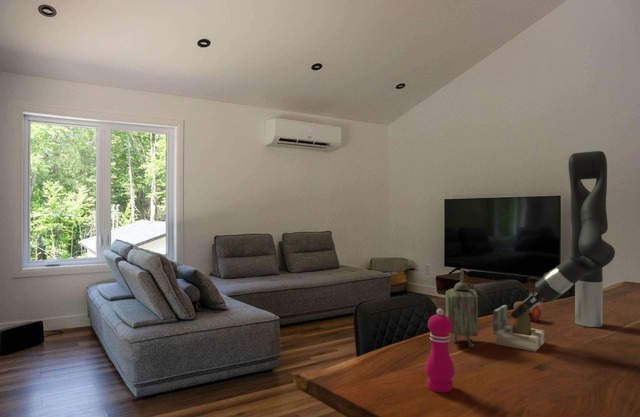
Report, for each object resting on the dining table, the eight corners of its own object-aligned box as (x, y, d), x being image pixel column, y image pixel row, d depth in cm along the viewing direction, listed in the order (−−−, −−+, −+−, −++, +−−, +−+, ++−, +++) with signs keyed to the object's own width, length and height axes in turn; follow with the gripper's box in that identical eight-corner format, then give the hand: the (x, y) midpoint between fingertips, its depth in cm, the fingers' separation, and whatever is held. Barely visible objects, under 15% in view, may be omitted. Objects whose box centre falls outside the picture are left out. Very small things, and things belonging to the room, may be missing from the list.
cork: (534, 337, 147) (534, 304, 147) (514, 336, 148) (514, 303, 148) (529, 332, 153) (529, 300, 153) (510, 331, 154) (510, 299, 154)
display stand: (503, 335, 160) (503, 304, 160) (544, 342, 152) (544, 310, 152) (493, 343, 150) (493, 310, 150) (535, 351, 142) (535, 316, 142)
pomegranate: (533, 329, 177) (551, 313, 178) (521, 314, 177) (539, 298, 178) (522, 326, 184) (539, 310, 185) (511, 312, 184) (528, 296, 186)
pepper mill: (421, 382, 117) (421, 305, 117) (448, 381, 118) (448, 305, 117) (430, 393, 110) (430, 312, 110) (459, 392, 110) (459, 311, 110)
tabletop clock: (477, 350, 143) (478, 272, 143) (448, 348, 145) (448, 271, 145) (471, 337, 157) (472, 266, 157) (445, 336, 159) (445, 265, 159)
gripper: (550, 272, 151) (514, 301, 159) (540, 277, 140) (502, 308, 147) (567, 290, 148) (530, 319, 155) (559, 296, 137) (519, 327, 144)
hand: (516, 314), depth 151 cm, fingers open, 8 cm apart
